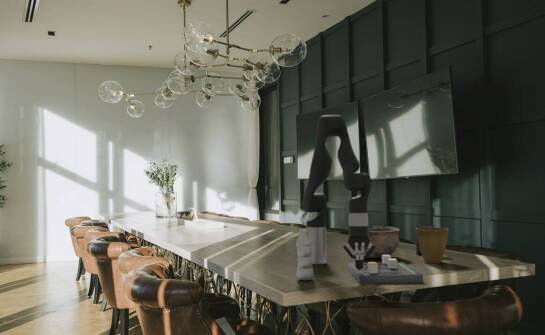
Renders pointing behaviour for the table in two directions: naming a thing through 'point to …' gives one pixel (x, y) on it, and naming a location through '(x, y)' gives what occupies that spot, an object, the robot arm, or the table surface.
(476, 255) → the table surface
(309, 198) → the robot arm
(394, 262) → the block
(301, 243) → the plastic bottle
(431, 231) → the plant pot
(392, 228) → the ceramic bowl
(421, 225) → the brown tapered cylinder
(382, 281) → the breaker panel
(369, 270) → the block
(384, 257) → the breaker back
